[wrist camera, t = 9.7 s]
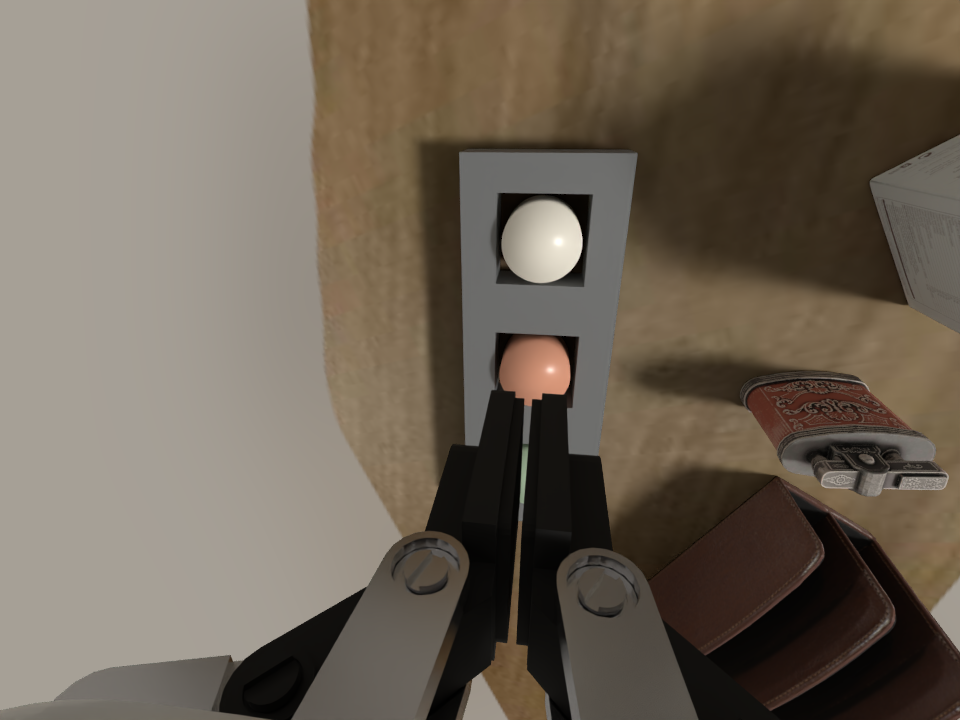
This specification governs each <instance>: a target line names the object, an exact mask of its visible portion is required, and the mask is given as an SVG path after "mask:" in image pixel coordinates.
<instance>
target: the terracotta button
mask: <svg viewBox="0 0 960 720" xmlns="http://www.w3.org/2000/svg"><path fill="white" fill-rule="evenodd" d="M499 377H500V383H501V385H502V388H503V389H504V391H515V392H516V398H524V399H525V400H524V405H527V406H532V399H541V400H542V393H547V394H562V395H563V394H564V393H565V392H566V390H567V388H568V386H569V383H570V362H569V351H568V348H567V345H566V343H565V342H564V340H563V339H562V338H561V337H560V336H557V335H537V334H517V333H515V334H514V335H513V336H512V337H510V339H509V340H508V342H507V343H506V345H505V348H504V352H503V357H502V362H501V367H500V373H499Z"/></svg>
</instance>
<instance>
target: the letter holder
mask: <svg viewBox="0 0 960 720" xmlns="http://www.w3.org/2000/svg"><path fill="white" fill-rule="evenodd" d="M648 584H649V586H650V589H651V592H652V595H653V597H654V600H655V603H656V606H657V608H658V611H659V614H660V616H661V618H662V619H663V620H664V621H665V622H666V623H668V624H669V625H670V626H671V627H672V628H673V629H675V630H676V631H677V632H678V633H679V634H681V635H682V636H683V637H684V638H685V639H686V640H688V641H689V642H690V643H691V644H692V645H693V646H695V647H696V648H697V649H698V650H699V651H701V652H702V653H703V654H704V655H705V656H706V657H708V658H709V659H710V660H711V661H712V662H713V663H715V664H716V665H717V666H718V667H719V668H721V669H722V670H723V671H724V672H725V673H726V674H728V675H729V676H730V677H731V678H732V679H733V680H735V681H736V682H737V683H738V684H739V685H741V686H742V687H743V688H744V689H745V690H746V691H748V692H749V693H750V694H751V695H752V696H753V697H755V698H756V699H757V700H758V701H759V702H760V703H762V704H763V705H764V706H765V707H766V708H768V709H769V710H770V711H771V712H772V713H773V714H775V715H776V716H777V717H778V718H779V719H780V720H957V719H959V718H960V652H959V651H958V649H957V648H956V646H955V645H954V644H953V643H952V641H951V640H950V638H949V637H948V636H947V634H946V633H945V632H944V631H943V629H942V628H941V627H940V625H939V624H938V623H937V621H936V620H935V619H934V618H933V616H932V615H931V614H930V612H929V611H928V610H927V608H926V607H925V606H924V604H923V603H922V602H921V601H920V600H919V598H918V597H917V595H916V594H915V593H914V591H913V590H912V588H911V587H910V586H909V584H908V583H907V582H906V580H905V579H904V577H903V576H902V575H901V573H900V572H899V571H898V569H897V568H896V567H895V565H894V564H893V563H892V561H891V560H890V559H889V557H888V556H887V554H886V553H885V552H884V550H883V549H882V547H881V546H880V545H879V543H878V542H877V541H876V538H875V537H874V536H873V535H872V534H871V533H870V532H869V531H867V530H866V529H864V528H862V527H861V526H859V525H858V524H856V523H854V522H853V521H851V520H849V519H848V518H846V517H845V516H843V515H841V514H839V513H838V512H836V511H835V510H833V509H831V508H830V507H828V506H826V505H825V504H823V503H821V502H820V501H818V500H817V499H815V498H813V497H812V496H810V495H808V494H807V493H805V492H803V491H802V490H800V489H799V488H797V487H795V486H793V485H792V484H790V483H789V482H787V481H785V480H783V479H781V478H780V477H775V478H774V479H773V480H772V481H771V482H770V483H768V484H767V485H766V486H765V487H763V488H762V489H761V490H760V491H759V492H758V493H756V494H755V495H754V496H752V497H751V498H750V499H748V500H747V501H746V502H745V503H744V504H742V505H741V506H740V507H739V508H738V509H736V510H735V511H734V512H732V513H731V515H729V516H728V517H726V519H724V520H723V521H722V522H720V523H719V524H718V525H717V526H715V527H714V528H713V529H712V530H711V531H709V532H708V533H707V534H705V535H704V536H703V537H702V538H701V539H699V540H698V541H697V542H695V543H694V544H693V545H692V546H691V547H690V548H688V549H687V550H686V551H685V552H683V553H682V554H681V555H680V556H678V557H677V558H676V559H675V560H674V561H673V562H671V563H670V564H669V565H668V566H666V567H665V568H664V569H662V570H661V571H660V572H659V573H658V574H657V575H656V576H654V577H653V578H652V579H650V580H649V581H648Z"/></svg>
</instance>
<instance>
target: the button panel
mask: <svg viewBox="0 0 960 720" xmlns="http://www.w3.org/2000/svg"><path fill="white" fill-rule="evenodd" d="M637 155H638V153H636V152H634V151H632V150H611V149H466V150H463V151H461V152H459V167H460V216H461V264H462V312H463V360H464V408H465V445H470V446H479V442H480V438H481V433H482V429H483V424H484V420H485V416H486V411H487V407H488V402H489V398H490V393H491V390H501V391H504V389H503V388H502V385H501V383H498V377H499V333H517V334H537V335H557V336H576V341H575V351H574V362H573V373H572V384H571V387H568V388H567V390H566V392H565V393H564V394H563V395H567V419H568V445H569V454H581V455H594V456H598V453H599V445H600V438H601V430H602V422H603V415H604V407H605V399H606V392H607V384H608V377H609V369H610V361H611V354H612V346H613V338H614V331H615V323H616V315H617V308H618V300H619V293H620V285H621V277H622V270H623V262H624V254H625V247H626V239H627V232H628V224H629V216H630V209H631V201H632V193H633V186H634V178H635V171H636V163H637ZM501 193H543V194H589V201H588V212H587V222H586V233H585V244H584V255H583V265H582V273H567V274H566V275H565V276H563V277H562V278H560V279H558V280H555V281H552V282H547V283H534V282H530V281H527V280H524V279H523V278H521V277H519V276H518V275H516V274H515V273H514V272H513V271H501V270H500V248H501ZM531 408H532V406H527V405H524V425H523V444H529V433H530V420H531ZM523 508H524V503H520V507H519V518H518V521H523Z"/></svg>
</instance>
